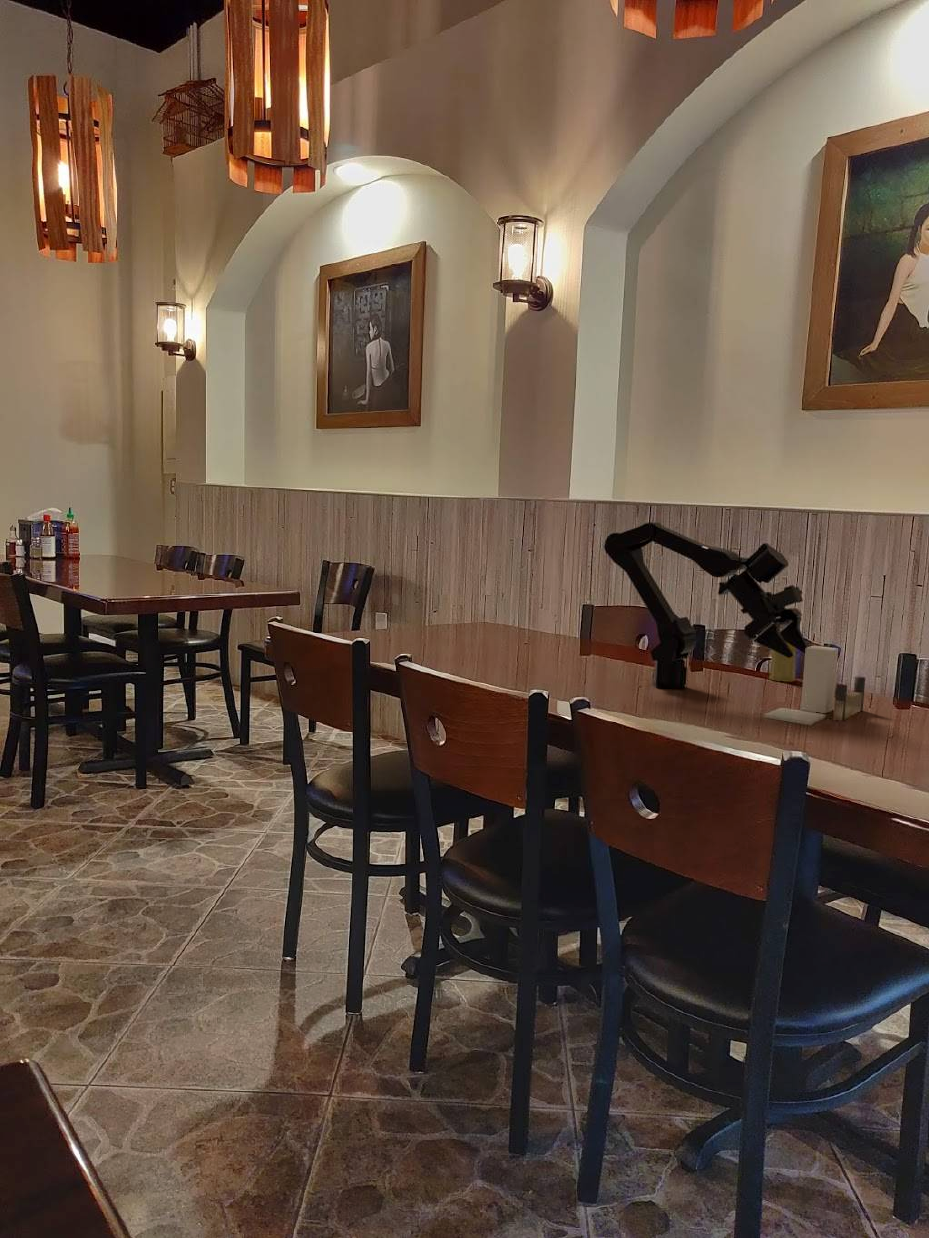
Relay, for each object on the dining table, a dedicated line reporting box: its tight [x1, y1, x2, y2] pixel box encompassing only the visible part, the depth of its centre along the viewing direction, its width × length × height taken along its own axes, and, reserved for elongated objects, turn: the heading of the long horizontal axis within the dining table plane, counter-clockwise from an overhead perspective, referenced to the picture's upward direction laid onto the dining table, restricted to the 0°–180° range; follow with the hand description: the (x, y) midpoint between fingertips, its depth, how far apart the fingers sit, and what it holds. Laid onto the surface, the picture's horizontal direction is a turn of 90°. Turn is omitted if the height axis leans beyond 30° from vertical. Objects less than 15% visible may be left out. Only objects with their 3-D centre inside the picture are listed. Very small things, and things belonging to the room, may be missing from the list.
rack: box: [832, 676, 866, 722], centre depth 189 cm, size 2×14×7 cm, turn 141°
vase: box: [768, 642, 797, 683], centre depth 226 cm, size 6×6×14 cm
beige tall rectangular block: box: [800, 645, 839, 714], centre depth 192 cm, size 5×5×13 cm
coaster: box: [764, 707, 827, 726], centre depth 185 cm, size 9×9×1 cm
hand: (799, 654), depth 194 cm, fingers open, 9 cm apart
